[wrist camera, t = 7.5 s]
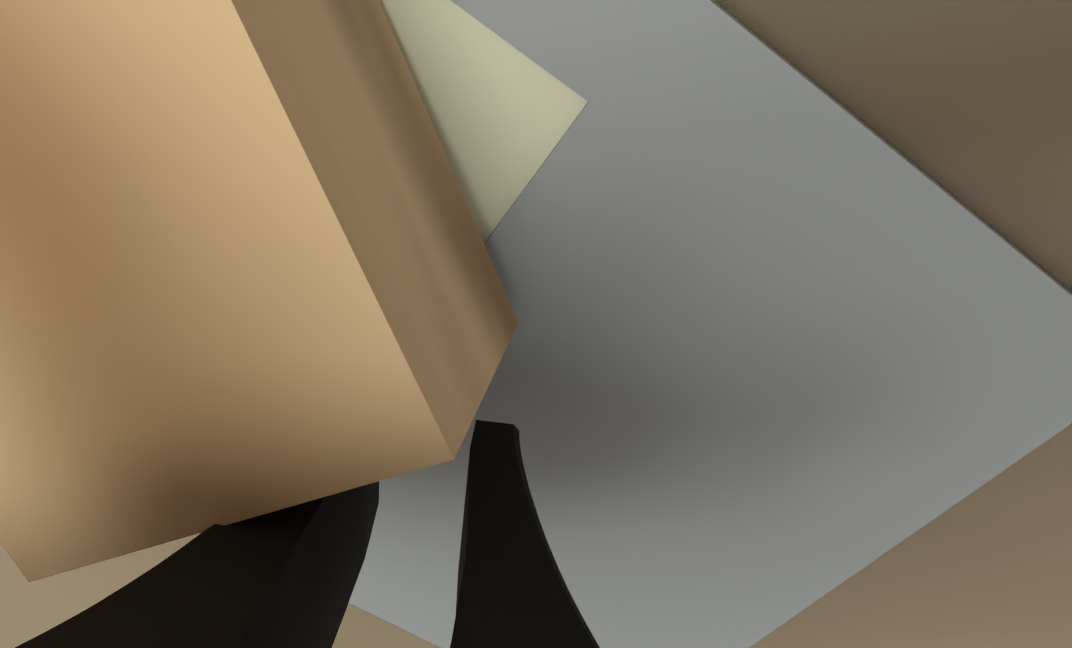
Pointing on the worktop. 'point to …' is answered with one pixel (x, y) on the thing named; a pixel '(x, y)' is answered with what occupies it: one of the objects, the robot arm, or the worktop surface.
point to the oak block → (222, 270)
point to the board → (707, 323)
